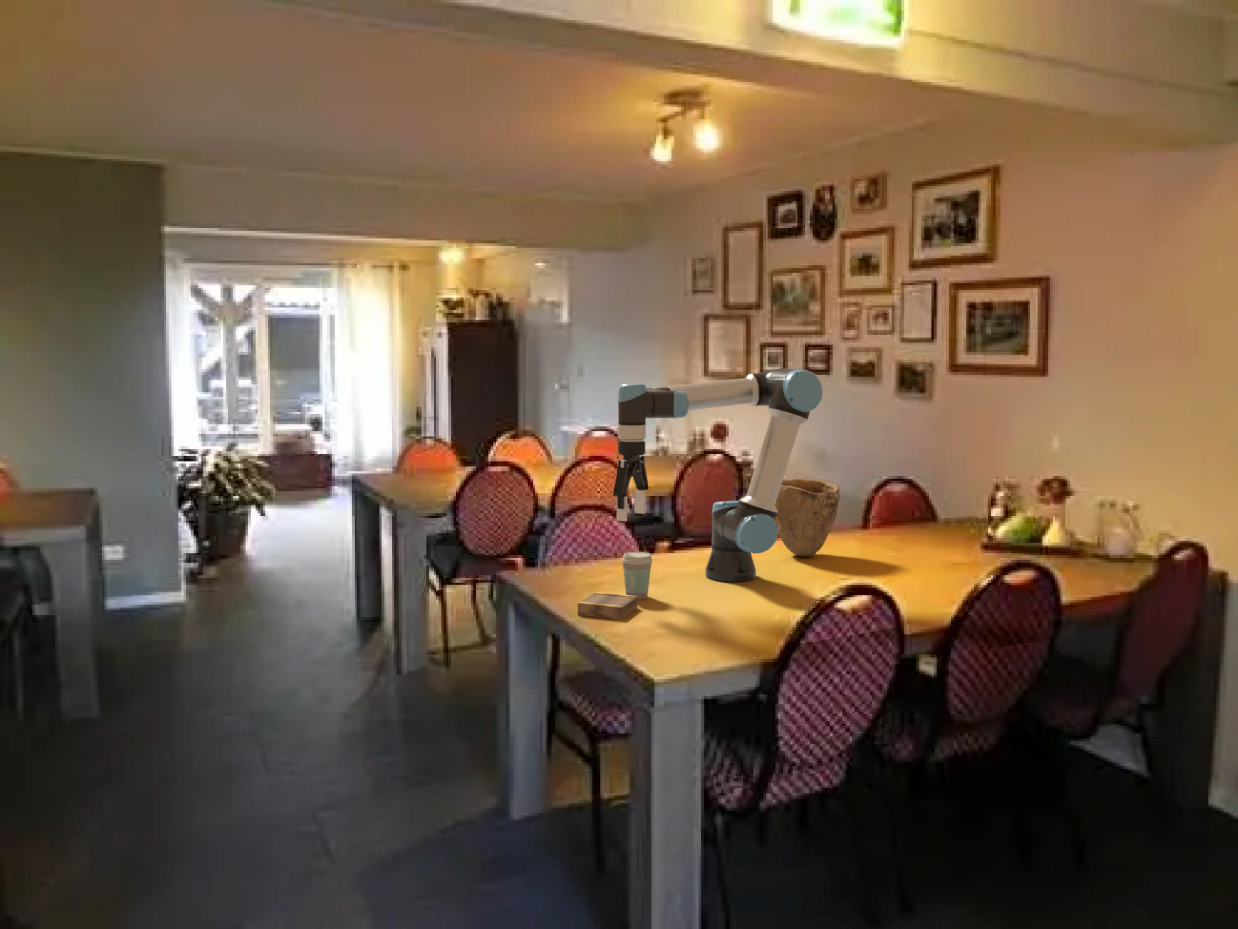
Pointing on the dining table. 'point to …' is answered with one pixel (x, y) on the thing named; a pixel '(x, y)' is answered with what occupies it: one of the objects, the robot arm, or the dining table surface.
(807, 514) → the ancient clay pot
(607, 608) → the block
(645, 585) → the coffee cup
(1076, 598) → the dining table surface
